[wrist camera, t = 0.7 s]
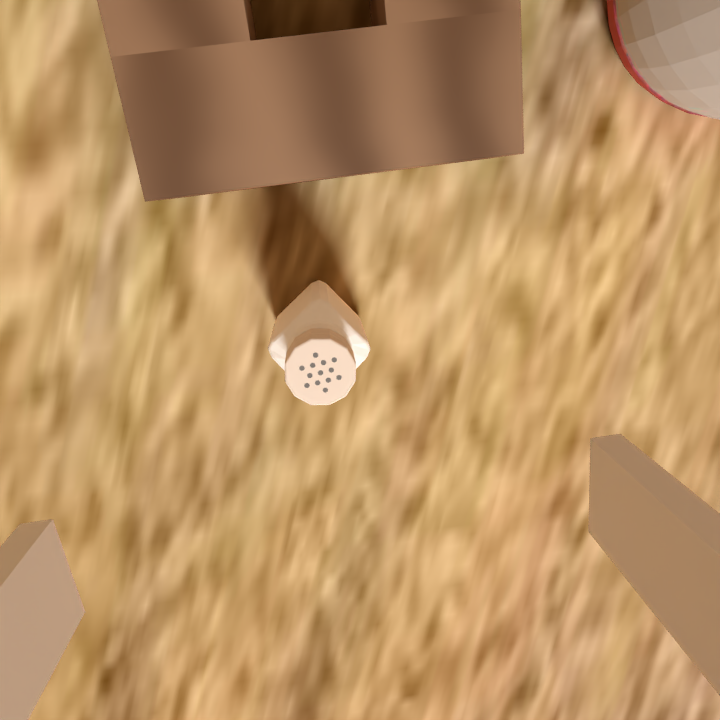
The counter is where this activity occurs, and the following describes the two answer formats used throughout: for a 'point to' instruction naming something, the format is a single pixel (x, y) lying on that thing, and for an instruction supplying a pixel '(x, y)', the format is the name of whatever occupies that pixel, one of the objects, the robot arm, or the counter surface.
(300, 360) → the pepper shaker
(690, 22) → the citrus juicer
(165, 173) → the socket block
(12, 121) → the counter surface
